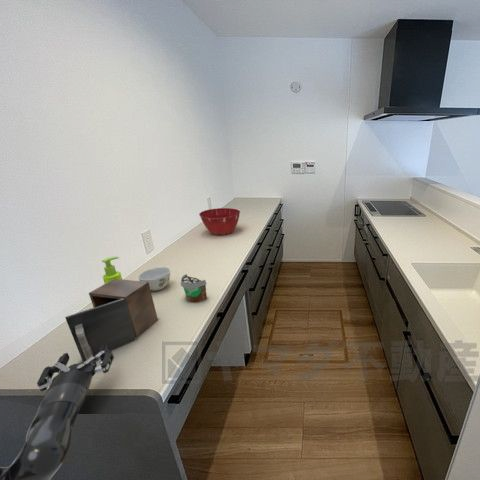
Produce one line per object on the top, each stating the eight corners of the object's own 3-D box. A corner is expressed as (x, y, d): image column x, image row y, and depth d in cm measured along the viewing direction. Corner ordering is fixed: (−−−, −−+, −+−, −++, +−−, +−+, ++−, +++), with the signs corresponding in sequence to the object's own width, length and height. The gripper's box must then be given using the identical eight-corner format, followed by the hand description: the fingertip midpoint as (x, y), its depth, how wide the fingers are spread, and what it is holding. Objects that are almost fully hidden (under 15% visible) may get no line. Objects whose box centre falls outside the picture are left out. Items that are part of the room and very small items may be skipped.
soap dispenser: (133, 298, 115) (121, 257, 108) (116, 307, 109) (103, 263, 102) (125, 295, 117) (113, 254, 110) (108, 303, 111) (94, 260, 104)
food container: (177, 300, 114) (173, 279, 111) (189, 293, 119) (185, 273, 116) (197, 307, 109) (193, 286, 106) (209, 299, 114) (205, 279, 111)
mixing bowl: (247, 227, 210) (245, 208, 205) (233, 239, 184) (230, 218, 178) (213, 225, 213) (211, 207, 207) (194, 237, 186) (191, 216, 181)
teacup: (154, 280, 130) (151, 266, 127) (178, 282, 128) (175, 267, 126) (131, 297, 116) (126, 281, 113) (158, 299, 114) (154, 283, 112)
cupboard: (137, 338, 92) (125, 297, 86) (102, 333, 94) (88, 293, 88) (158, 320, 101) (148, 281, 95) (126, 316, 103) (114, 278, 97)
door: (139, 348, 87) (127, 306, 81) (85, 372, 78) (66, 327, 72) (135, 338, 91) (123, 298, 86) (82, 360, 82) (65, 316, 76)
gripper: (30, 421, 60) (58, 369, 74) (107, 396, 66) (119, 352, 80) (17, 397, 57) (48, 348, 71) (98, 374, 63) (113, 332, 77)
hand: (86, 350), depth 75 cm, fingers open, 8 cm apart
